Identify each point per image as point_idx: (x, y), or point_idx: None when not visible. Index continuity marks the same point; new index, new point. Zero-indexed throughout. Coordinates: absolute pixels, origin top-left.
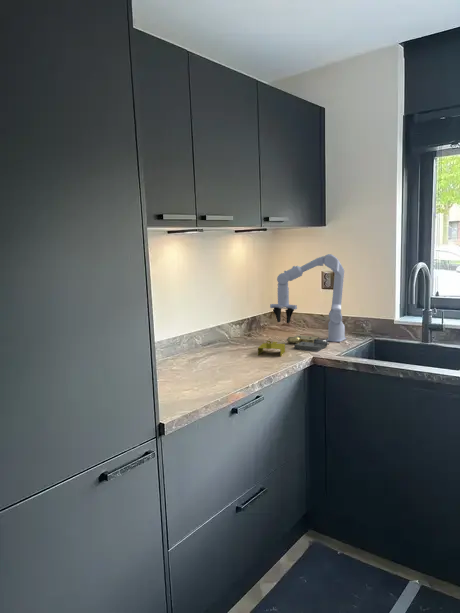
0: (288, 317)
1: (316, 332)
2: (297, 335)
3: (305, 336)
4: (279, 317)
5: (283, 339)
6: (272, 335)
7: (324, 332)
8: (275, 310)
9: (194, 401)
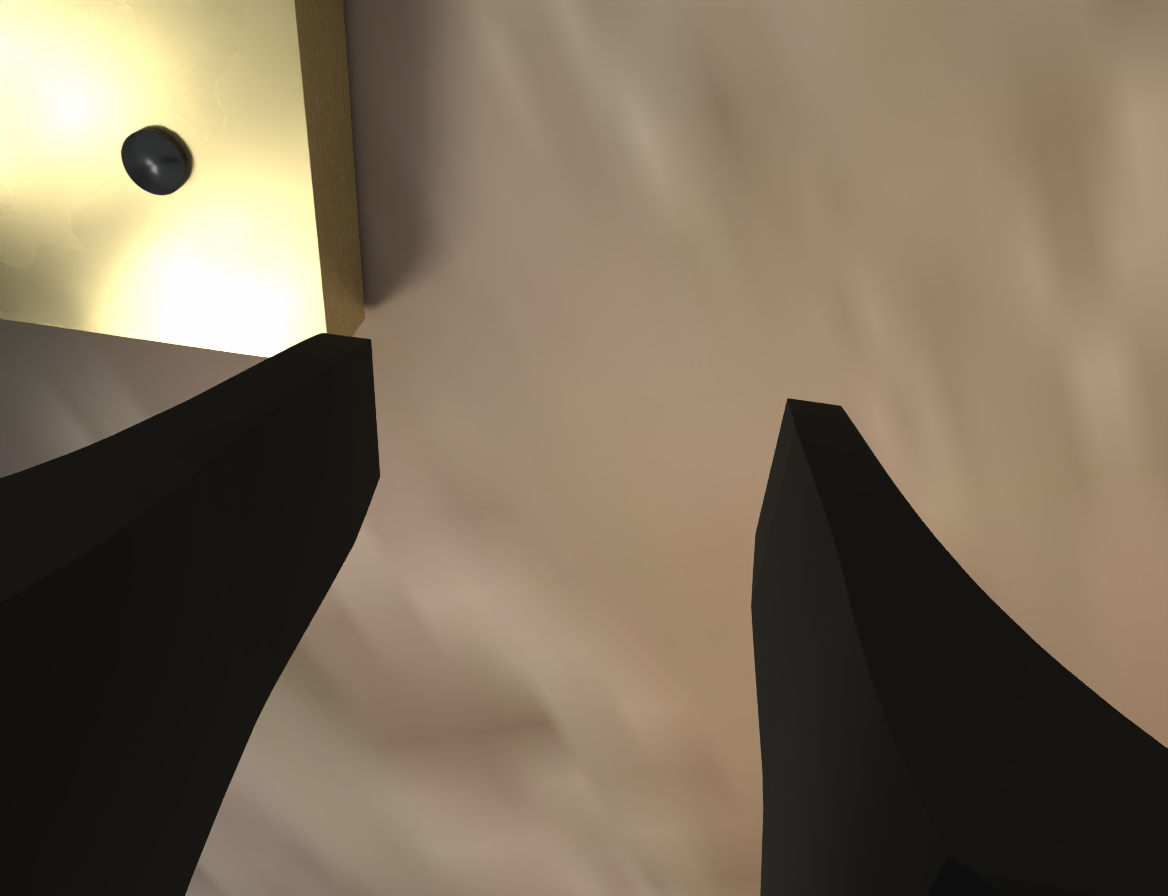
0: (120, 432)
1: (383, 852)
2: (309, 328)
3: (80, 269)
4: (780, 632)
5: (683, 245)
6: (1071, 567)
7: (284, 860)
8: (1074, 858)
9: None
